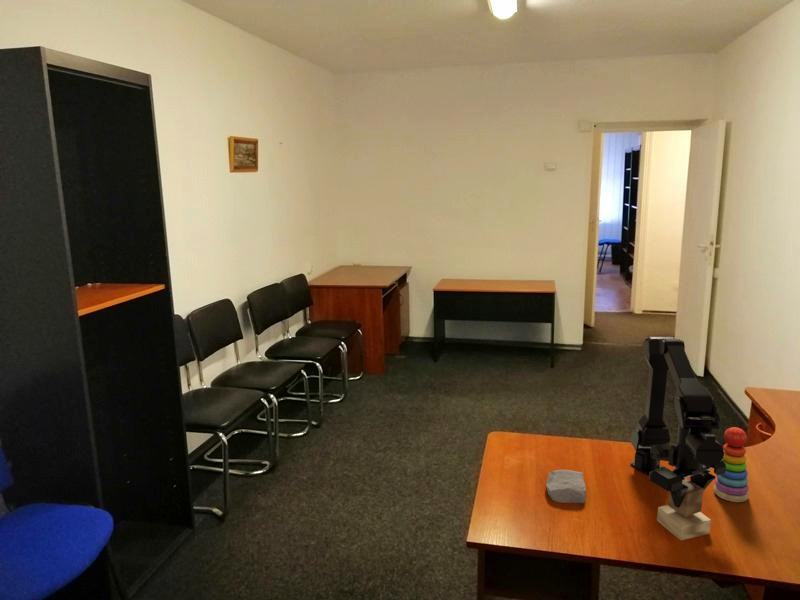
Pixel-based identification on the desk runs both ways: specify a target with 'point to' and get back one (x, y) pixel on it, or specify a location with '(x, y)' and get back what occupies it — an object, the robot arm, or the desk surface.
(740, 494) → the stacking toy
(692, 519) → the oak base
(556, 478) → the stone block
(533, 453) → the desk surface
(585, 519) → the desk surface
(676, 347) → the robot arm
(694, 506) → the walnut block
